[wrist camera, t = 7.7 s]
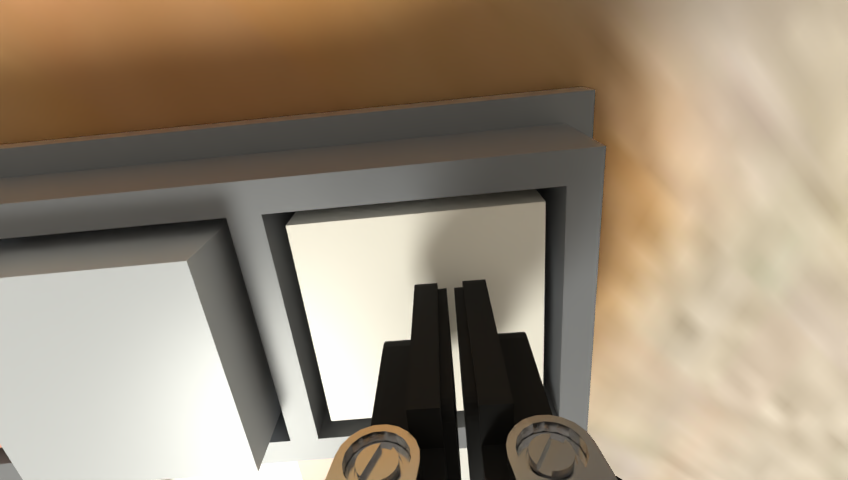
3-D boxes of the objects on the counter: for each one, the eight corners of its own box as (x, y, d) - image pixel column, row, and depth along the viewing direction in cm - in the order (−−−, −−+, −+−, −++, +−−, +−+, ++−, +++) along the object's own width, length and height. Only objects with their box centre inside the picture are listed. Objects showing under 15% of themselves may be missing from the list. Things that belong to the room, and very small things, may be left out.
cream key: (522, 172, 13) (545, 201, 10) (523, 348, 15) (542, 403, 13) (309, 192, 13) (285, 225, 10) (344, 364, 15) (331, 421, 13)
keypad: (582, 86, 13) (648, 103, 9) (567, 445, 18) (604, 545, 15) (-259, 170, 14) (-509, 217, 10) (-29, 491, 19) (-135, 597, 15)
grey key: (233, 217, 11) (186, 260, 9) (285, 400, 14) (258, 471, 11) (2, 238, 12) (-101, 286, 9) (93, 416, 14) (29, 489, 12)
